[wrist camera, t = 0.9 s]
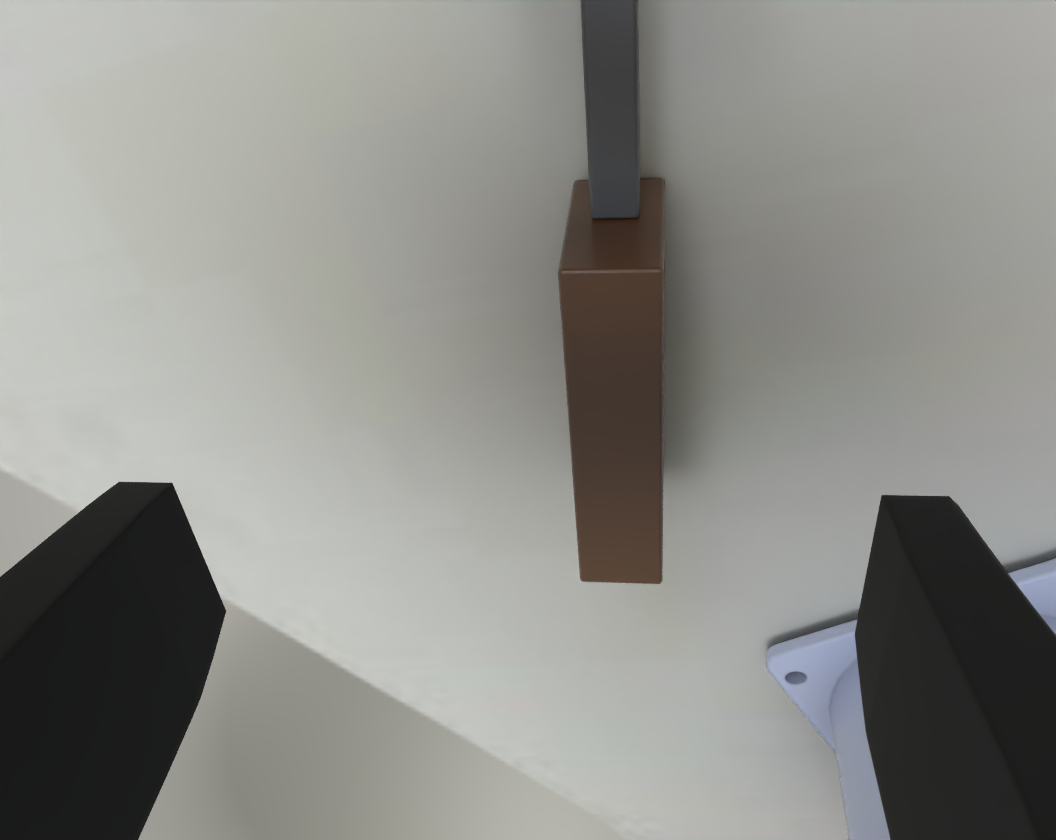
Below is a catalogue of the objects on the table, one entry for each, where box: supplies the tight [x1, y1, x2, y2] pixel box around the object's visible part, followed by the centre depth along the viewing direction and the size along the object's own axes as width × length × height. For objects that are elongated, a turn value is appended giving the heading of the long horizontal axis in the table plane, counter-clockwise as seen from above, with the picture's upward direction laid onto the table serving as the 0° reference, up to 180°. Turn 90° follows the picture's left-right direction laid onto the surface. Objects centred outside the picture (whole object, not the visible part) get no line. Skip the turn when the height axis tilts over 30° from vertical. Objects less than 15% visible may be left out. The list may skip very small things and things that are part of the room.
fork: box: [558, 0, 665, 584], centre depth 16 cm, size 14×4×3 cm, turn 5°
